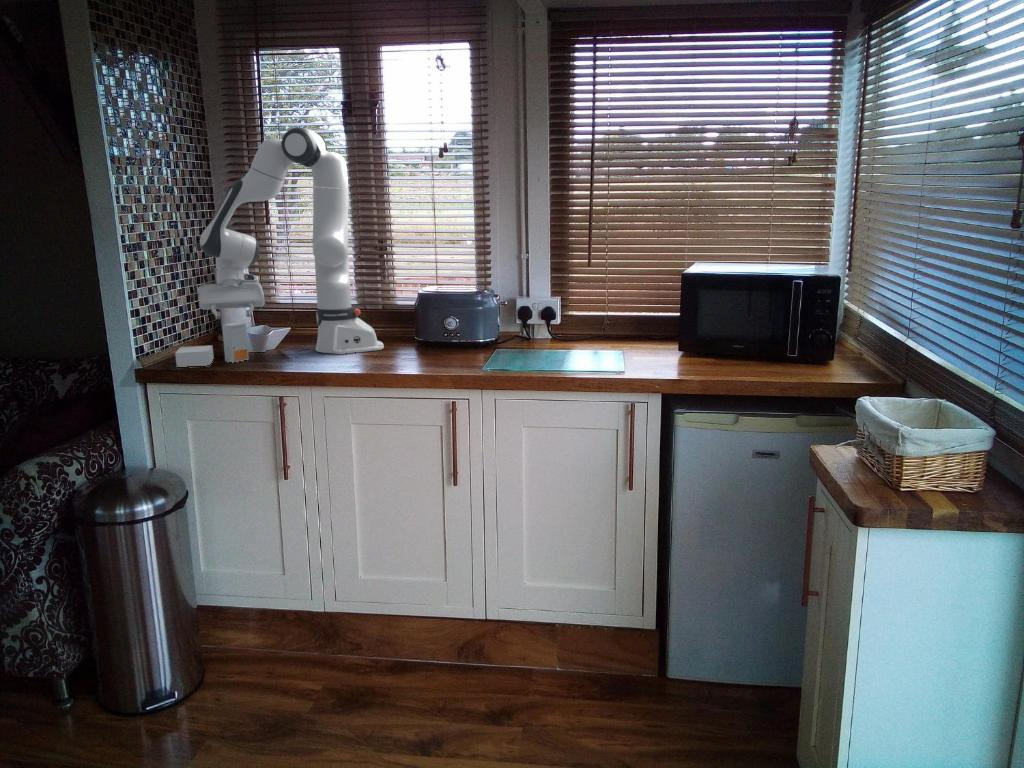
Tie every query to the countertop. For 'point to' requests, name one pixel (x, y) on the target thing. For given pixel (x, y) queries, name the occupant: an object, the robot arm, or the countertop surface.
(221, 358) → the countertop surface
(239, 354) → the skincare box
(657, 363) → the countertop surface
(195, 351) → the grey block
